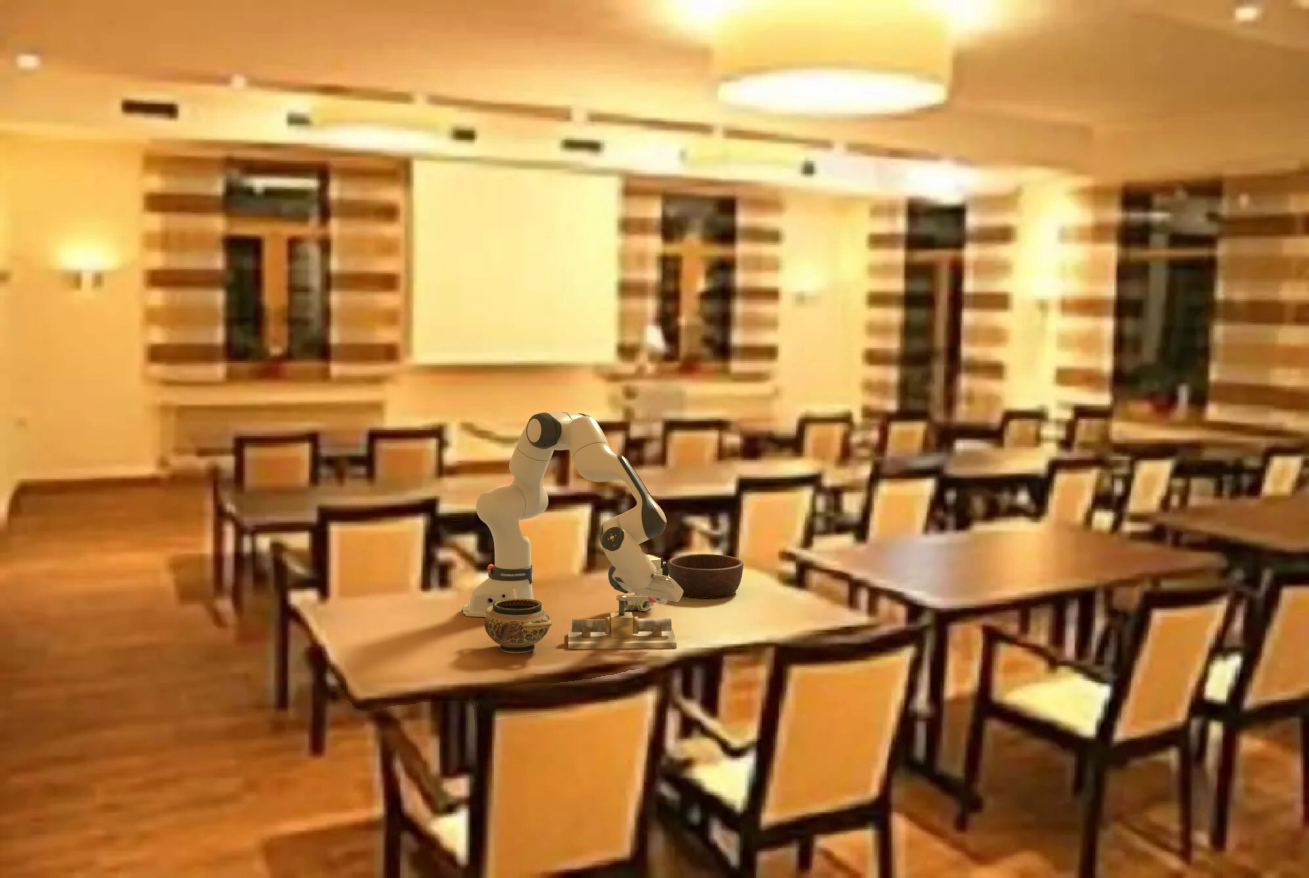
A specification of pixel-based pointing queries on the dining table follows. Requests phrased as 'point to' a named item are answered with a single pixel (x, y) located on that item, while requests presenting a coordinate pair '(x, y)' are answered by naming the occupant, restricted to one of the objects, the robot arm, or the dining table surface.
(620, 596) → the valve lever
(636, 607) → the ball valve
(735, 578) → the wooden bowl
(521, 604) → the ceramic bowl
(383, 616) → the dining table surface
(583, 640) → the pipe board
